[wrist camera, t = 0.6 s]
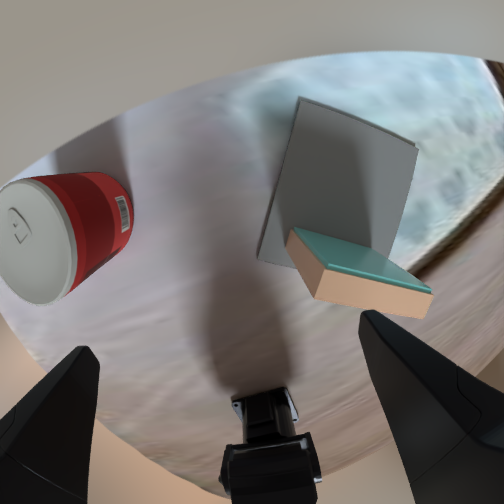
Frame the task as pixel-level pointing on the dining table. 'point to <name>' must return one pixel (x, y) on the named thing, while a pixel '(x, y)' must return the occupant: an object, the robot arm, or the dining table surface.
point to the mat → (339, 184)
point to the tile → (355, 275)
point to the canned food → (60, 232)
